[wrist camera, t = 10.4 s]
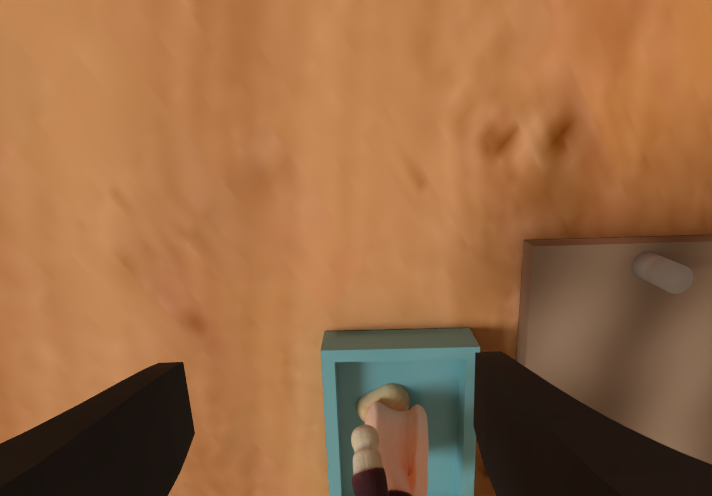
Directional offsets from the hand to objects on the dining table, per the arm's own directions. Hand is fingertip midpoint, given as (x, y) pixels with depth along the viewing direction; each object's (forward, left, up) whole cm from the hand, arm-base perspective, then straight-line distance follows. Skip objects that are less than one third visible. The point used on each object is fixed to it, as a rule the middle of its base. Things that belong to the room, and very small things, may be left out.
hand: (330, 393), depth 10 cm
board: (-13, +6, -10) cm, 18 cm away
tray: (-2, +9, -10) cm, 14 cm away
